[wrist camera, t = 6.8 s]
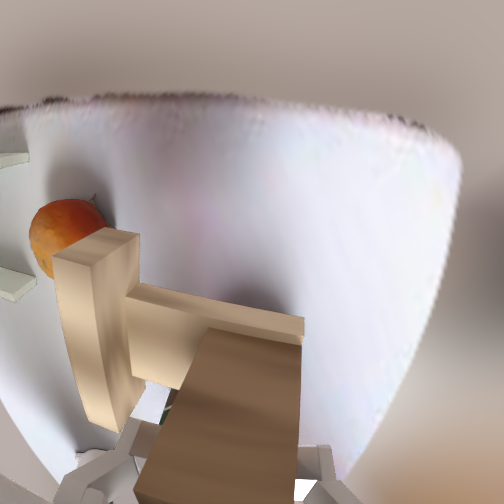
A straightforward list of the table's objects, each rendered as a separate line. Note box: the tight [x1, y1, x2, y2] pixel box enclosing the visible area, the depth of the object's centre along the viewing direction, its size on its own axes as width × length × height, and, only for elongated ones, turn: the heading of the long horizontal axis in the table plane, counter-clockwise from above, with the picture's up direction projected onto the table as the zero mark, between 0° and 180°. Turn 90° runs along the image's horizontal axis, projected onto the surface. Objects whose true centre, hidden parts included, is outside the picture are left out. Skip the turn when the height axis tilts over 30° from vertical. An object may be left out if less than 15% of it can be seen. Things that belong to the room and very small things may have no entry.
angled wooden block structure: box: [51, 227, 304, 504], centre depth 11 cm, size 10×10×10 cm
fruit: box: [29, 194, 116, 280], centre depth 24 cm, size 8×8×8 cm
